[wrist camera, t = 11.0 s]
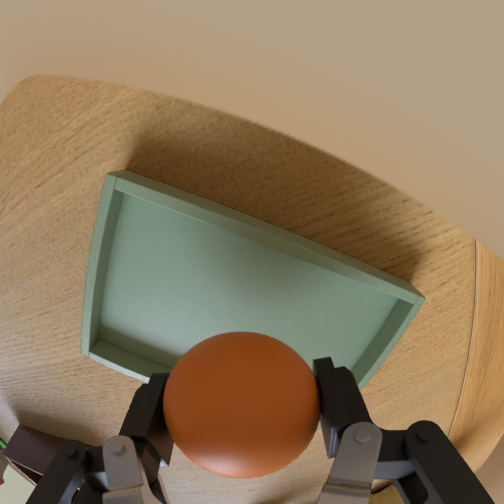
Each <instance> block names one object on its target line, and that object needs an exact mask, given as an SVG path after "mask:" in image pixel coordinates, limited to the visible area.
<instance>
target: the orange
mask: <svg viewBox="0 0 504 504" xmlns="http://www.w3.org/2000/svg"><path fill="white" fill-rule="evenodd" d="M163 412H164V418H165V422H166V425H167V428H168V431H169V433H170V435H171V437H172V439H173V440H174V442H175V444H176V445H177V446H178V448H179V449H180V450H181V451H182V452H183V454H184V455H185V456H187V457H188V458H189V459H190V460H191V461H193V462H194V463H195V464H197V465H198V466H200V467H202V468H204V469H206V470H208V471H210V472H212V473H215V474H218V475H222V476H226V477H232V478H253V477H260V476H264V475H268V474H271V473H273V472H275V471H278V470H280V469H282V468H284V467H285V466H287V465H289V464H290V463H291V462H293V461H294V460H295V459H297V458H298V457H299V455H300V454H301V453H302V452H303V451H304V450H305V449H306V448H307V446H308V445H309V443H310V442H311V440H312V439H313V437H314V434H315V432H316V430H317V427H318V424H319V419H320V414H321V399H320V393H319V387H318V384H317V381H316V378H315V376H314V374H313V372H312V371H311V369H310V367H309V366H308V364H307V363H306V362H305V360H304V359H303V358H302V357H301V356H300V355H299V354H298V353H297V352H296V351H295V350H294V349H292V348H291V347H289V346H288V345H286V344H285V343H283V342H282V341H280V340H278V339H276V338H273V337H270V336H267V335H264V334H260V333H255V332H245V331H238V332H228V333H223V334H219V335H215V336H212V337H210V338H207V339H205V340H203V341H202V342H200V343H198V344H196V345H195V346H193V347H192V348H191V349H189V350H188V351H187V352H186V353H185V354H184V355H183V356H182V357H181V358H180V359H179V361H178V362H177V364H176V365H175V366H174V368H173V369H172V371H171V373H170V376H169V378H168V380H167V383H166V386H165V391H164V396H163Z"/></svg>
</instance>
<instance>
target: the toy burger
mask: <svg viewBox="0 0 504 504" xmlns="http://www.w3.org/2000/svg"><path fill="white" fill-rule="evenodd" d="M6 446H7V445H6V444H5V443H4V442H3V441H2V440H1V439H0V485H2V484H3V483H4V479H3V474H4V471H5V469H6V467H7V465H8V463H9V462H10V461H9V460H8V459H7V458H6V457H5V456H4V455H3V454H2V453H3V451H4V450H5V448H6Z"/></svg>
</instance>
